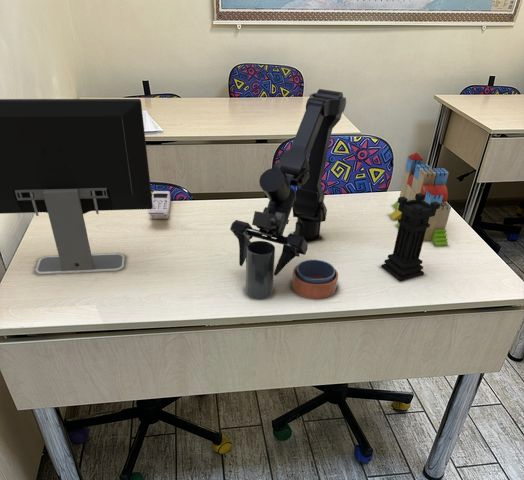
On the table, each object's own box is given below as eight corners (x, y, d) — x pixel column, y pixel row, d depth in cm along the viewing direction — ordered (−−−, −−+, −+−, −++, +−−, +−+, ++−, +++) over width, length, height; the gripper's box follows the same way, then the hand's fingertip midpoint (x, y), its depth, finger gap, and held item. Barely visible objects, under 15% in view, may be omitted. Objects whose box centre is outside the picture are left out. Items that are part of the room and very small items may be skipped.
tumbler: (265, 281, 131) (267, 238, 123) (277, 295, 127) (280, 251, 119) (241, 287, 129) (241, 243, 121) (252, 301, 124) (253, 257, 116)
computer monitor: (158, 253, 141) (141, 96, 115) (158, 268, 134) (139, 106, 109) (2, 259, 135) (-53, 96, 110) (-6, 276, 129) (-66, 107, 103)
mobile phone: (145, 212, 146) (151, 178, 165) (147, 231, 150) (153, 195, 169) (167, 212, 147) (170, 178, 166) (168, 231, 151) (171, 195, 170)
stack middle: (320, 273, 135) (322, 256, 132) (340, 291, 129) (342, 274, 126) (288, 280, 132) (289, 264, 129) (307, 300, 125) (309, 283, 122)
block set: (457, 245, 150) (477, 181, 137) (412, 247, 148) (428, 182, 136) (422, 204, 171) (437, 146, 159) (382, 205, 169) (394, 146, 157)
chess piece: (399, 281, 134) (417, 210, 121) (381, 267, 139) (396, 197, 126) (423, 274, 137) (442, 204, 124) (404, 261, 142) (420, 191, 129)
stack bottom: (321, 271, 136) (323, 257, 134) (344, 292, 129) (346, 279, 126) (284, 280, 132) (285, 266, 130) (305, 302, 125) (307, 289, 122)
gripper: (233, 187, 118) (211, 250, 118) (308, 204, 113) (285, 270, 112) (248, 207, 129) (227, 264, 128) (316, 223, 123) (296, 283, 123)
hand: (257, 270), depth 122 cm, fingers open, 9 cm apart
